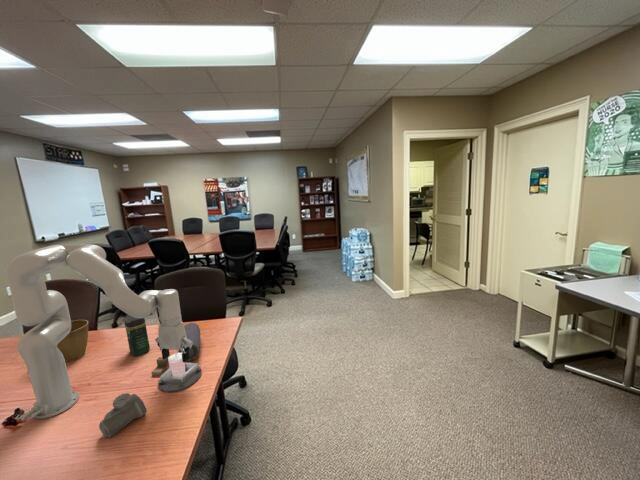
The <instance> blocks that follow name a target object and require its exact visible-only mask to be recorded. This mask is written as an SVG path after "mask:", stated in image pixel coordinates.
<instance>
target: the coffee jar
mask: <svg viewBox="0 0 640 480" xmlns="http://www.w3.org/2000/svg"><path fill="white" fill-rule="evenodd" d="M145 318H146V317H145ZM145 318H135V317H132V316H130V315H127V316H126V317H125V318H124V320H123V321H124V326H125V332H126V337H127V342H128V348H129V353H130V354H131V356H134V357H135V356H141V355H143V354H146V353H147V352H148V351H150V349H151V348H150V341H149V336H148V329H147V324H146V319H145Z"/></svg>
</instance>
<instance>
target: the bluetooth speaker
mask: <svg viewBox="0 0 640 480" xmlns="http://www.w3.org/2000/svg"><path fill="white" fill-rule="evenodd" d="M184 327H185V331H186V336H187V339H189V340H191V341H192V342H193V344H192V347H191V349H190V350H189V359H188V360H187V361H186V362H190V361H193V360H194V359H196V358H197V356H198V354H199V352H200V346H201V338H202V337H201V328H200V326H199V324H197V323H196V322H189V323H187V324H185V325H184ZM183 348H184V349H186V348H185V347H183ZM177 351H178V352H177V353H183V352H182V351H181V350H177Z"/></svg>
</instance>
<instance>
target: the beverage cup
mask: <svg viewBox="0 0 640 480" xmlns="http://www.w3.org/2000/svg"><path fill="white" fill-rule="evenodd" d="M168 361H169V368H171V371H172V375H173V376H177V377H181V376H182V375H183V374H184V373H185V363H183V361H182V353H178V352H177V350H174V353H173V354H170V356H169V357H168Z"/></svg>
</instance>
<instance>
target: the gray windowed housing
mask: <svg viewBox="0 0 640 480" xmlns="http://www.w3.org/2000/svg"><path fill="white" fill-rule="evenodd" d="M201 376H202V367H201V366H199V364H198V363H194V362H189V361H186V362H185V373H184V374H183V375H182V376H181V377H177V376H173V375H172V371H171V367H169V368H168V369H167V370H166V371H165V372H164V373H163V374H162V375H161V376H159V378H160V379H159V380H158V381H157V384H158V389H159V390H160V391H162V392H164V393H176V392H179V391H182V390H185V389H187V388H190V387H192V386H193V385H194V384H196V382H198V381H199V380H200V378H201Z"/></svg>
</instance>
